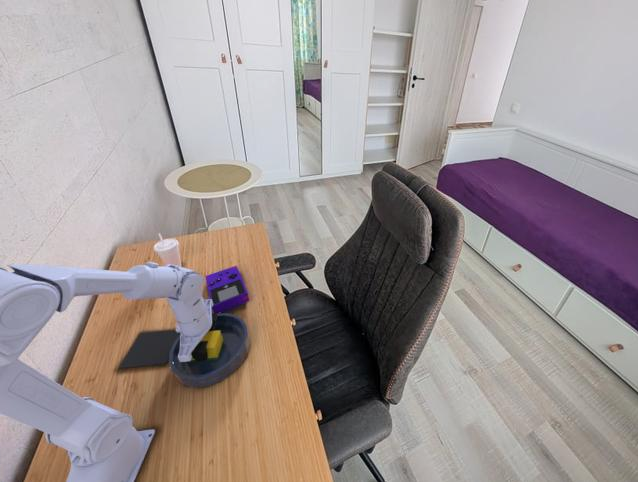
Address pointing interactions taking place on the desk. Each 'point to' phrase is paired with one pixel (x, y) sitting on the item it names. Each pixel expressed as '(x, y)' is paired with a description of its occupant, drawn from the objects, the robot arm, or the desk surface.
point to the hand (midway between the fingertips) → (206, 349)
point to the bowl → (214, 370)
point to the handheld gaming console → (226, 290)
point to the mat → (150, 349)
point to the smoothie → (168, 251)
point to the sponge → (212, 345)
